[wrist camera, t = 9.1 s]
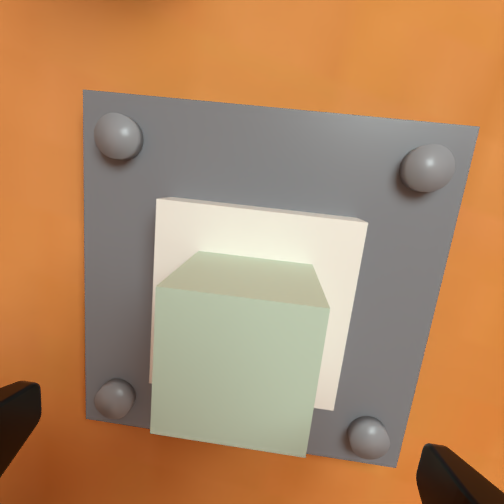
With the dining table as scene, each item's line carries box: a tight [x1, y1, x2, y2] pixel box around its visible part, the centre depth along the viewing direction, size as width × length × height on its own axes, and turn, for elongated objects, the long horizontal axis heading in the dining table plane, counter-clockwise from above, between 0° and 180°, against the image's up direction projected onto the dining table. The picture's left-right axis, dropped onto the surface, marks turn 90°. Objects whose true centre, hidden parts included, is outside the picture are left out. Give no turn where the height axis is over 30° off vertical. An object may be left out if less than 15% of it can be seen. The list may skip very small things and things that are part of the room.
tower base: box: [83, 90, 480, 468], centre depth 16 cm, size 18×18×4 cm
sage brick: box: [150, 251, 330, 458], centre depth 12 cm, size 5×5×5 cm
